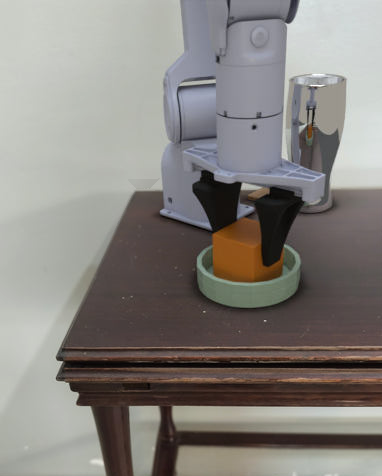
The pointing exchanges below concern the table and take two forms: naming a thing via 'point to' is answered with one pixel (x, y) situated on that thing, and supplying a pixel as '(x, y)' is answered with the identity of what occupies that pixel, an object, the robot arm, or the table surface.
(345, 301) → the table surface
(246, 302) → the celadon bowl
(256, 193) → the cork coaster
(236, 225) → the orange cube
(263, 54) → the robot arm
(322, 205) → the beer glass
